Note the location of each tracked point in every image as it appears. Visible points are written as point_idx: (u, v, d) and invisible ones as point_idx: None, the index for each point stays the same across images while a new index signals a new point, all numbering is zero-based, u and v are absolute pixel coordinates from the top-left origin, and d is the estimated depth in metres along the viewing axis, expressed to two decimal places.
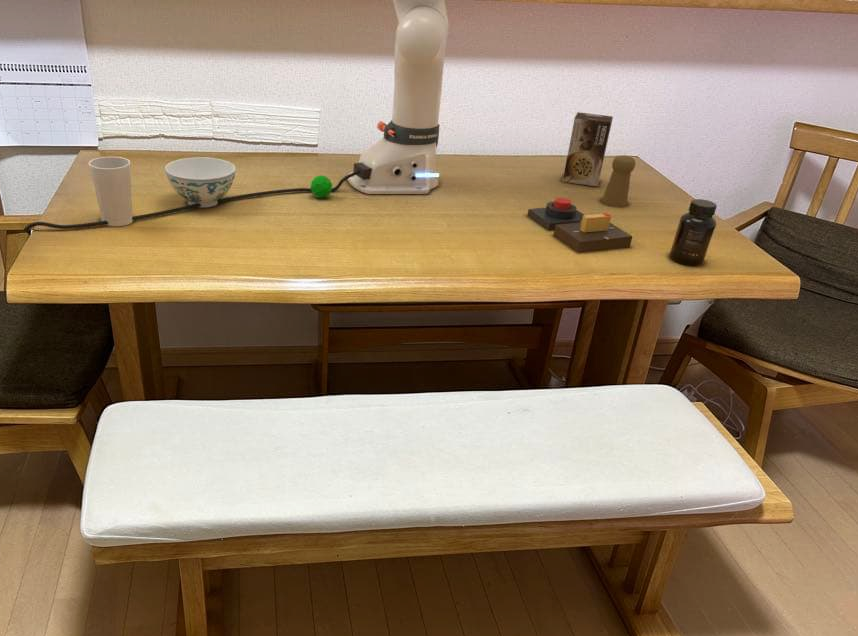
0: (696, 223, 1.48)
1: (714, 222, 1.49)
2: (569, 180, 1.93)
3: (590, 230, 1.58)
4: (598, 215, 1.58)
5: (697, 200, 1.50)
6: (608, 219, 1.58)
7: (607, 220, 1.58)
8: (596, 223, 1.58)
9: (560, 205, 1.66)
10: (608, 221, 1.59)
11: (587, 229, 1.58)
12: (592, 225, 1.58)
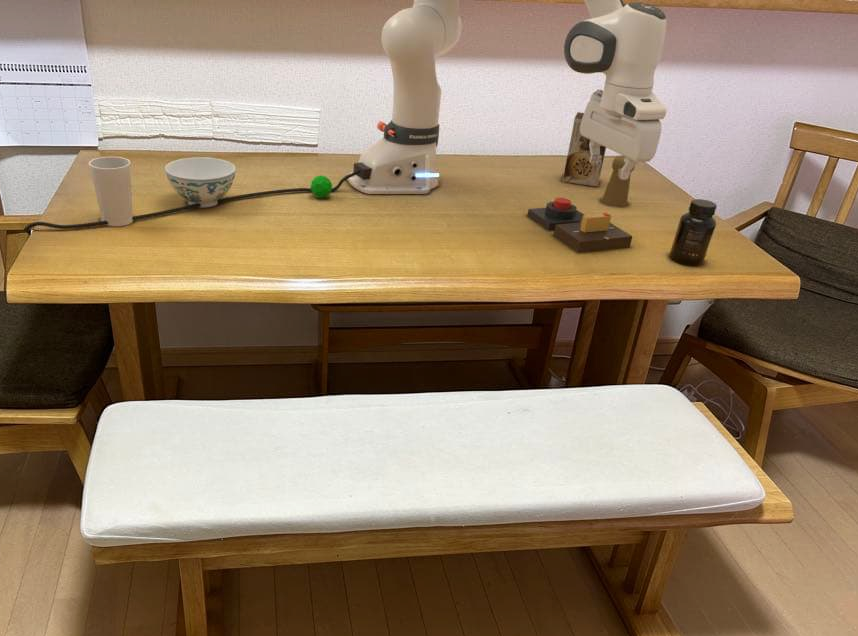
0: (696, 223, 1.48)
1: (714, 222, 1.49)
2: (569, 180, 1.93)
3: (590, 230, 1.58)
4: (598, 215, 1.58)
5: (697, 200, 1.50)
6: (608, 219, 1.58)
7: (607, 220, 1.58)
8: (596, 223, 1.58)
9: (560, 205, 1.66)
10: (608, 221, 1.59)
11: (587, 229, 1.58)
12: (592, 225, 1.58)
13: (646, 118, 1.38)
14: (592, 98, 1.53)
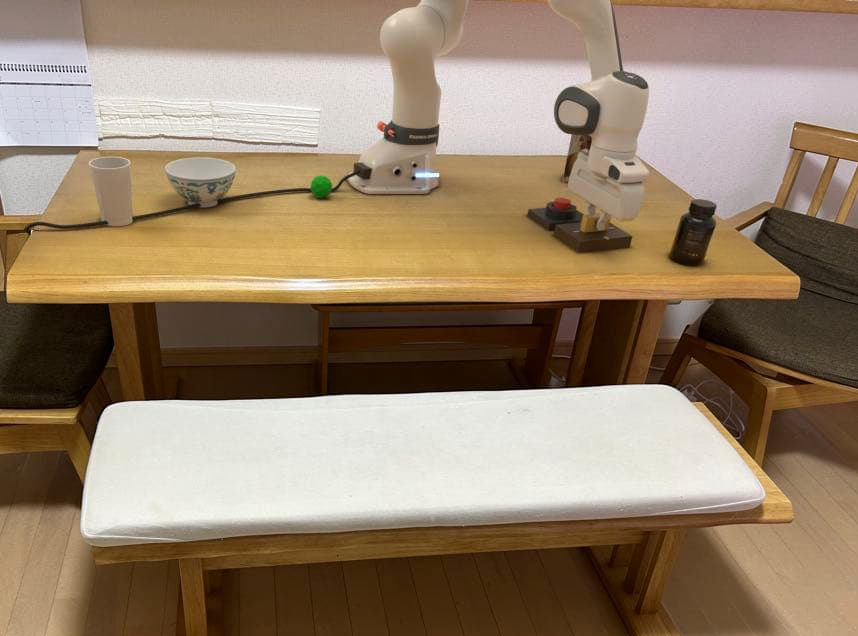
0: (696, 223, 1.48)
1: (714, 222, 1.49)
2: None
3: (590, 230, 1.58)
4: (598, 215, 1.58)
5: (697, 200, 1.50)
6: None
7: None
8: None
9: (560, 205, 1.66)
10: (608, 221, 1.59)
11: (587, 229, 1.58)
12: (592, 225, 1.58)
13: (629, 181, 1.45)
14: (579, 156, 1.59)
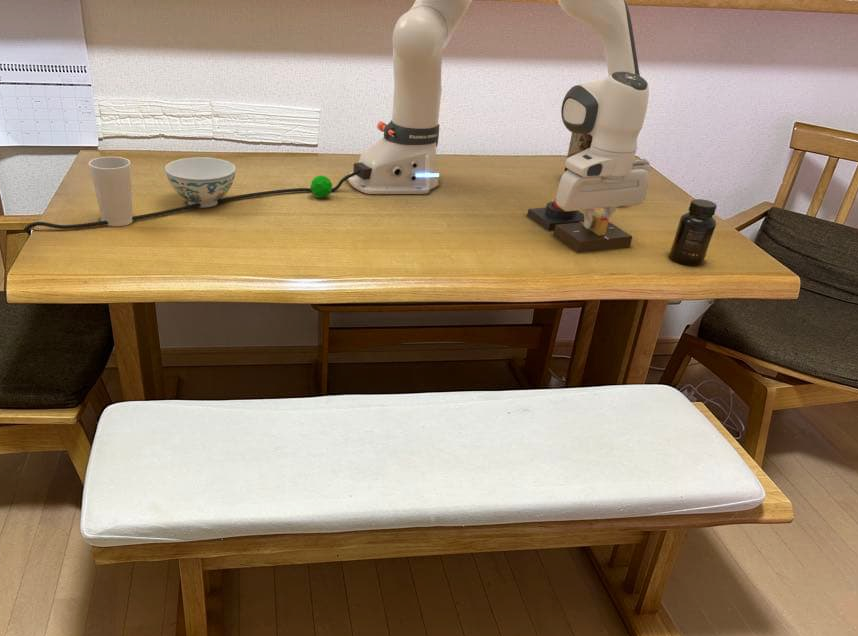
0: (696, 223, 1.48)
1: (714, 222, 1.49)
2: None
3: None
4: (598, 216, 1.57)
5: (697, 200, 1.50)
6: (600, 223, 1.56)
7: (599, 224, 1.56)
8: None
9: None
10: (600, 226, 1.56)
11: None
12: None
13: (569, 168, 1.50)
14: None
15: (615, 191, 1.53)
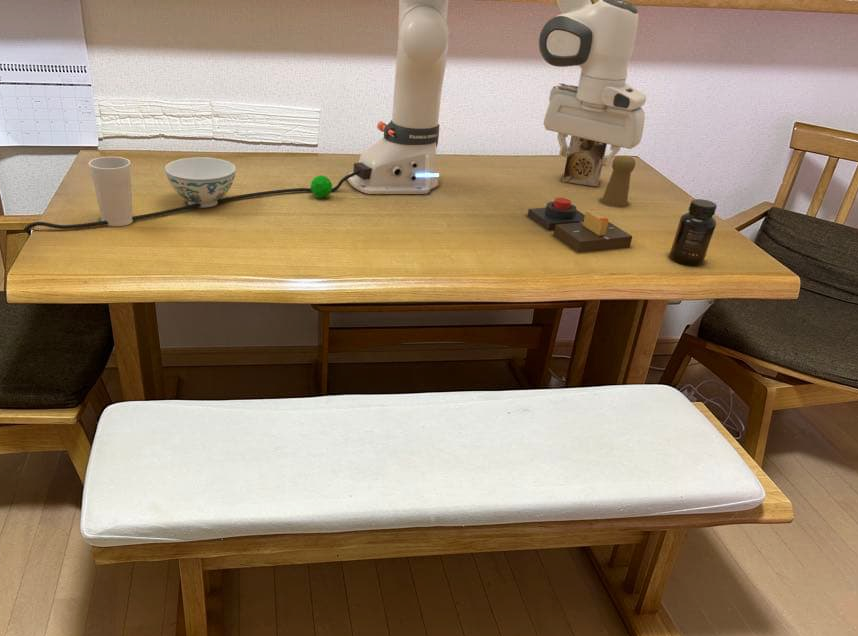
0: (696, 223, 1.48)
1: (714, 222, 1.49)
2: (569, 180, 1.93)
3: (586, 226, 1.60)
4: (598, 216, 1.57)
5: (697, 200, 1.50)
6: (600, 223, 1.56)
7: (599, 224, 1.56)
8: (591, 221, 1.58)
9: (560, 205, 1.66)
10: (600, 226, 1.56)
11: (585, 223, 1.61)
12: (588, 221, 1.59)
13: (637, 107, 1.46)
14: (553, 92, 1.55)
15: None
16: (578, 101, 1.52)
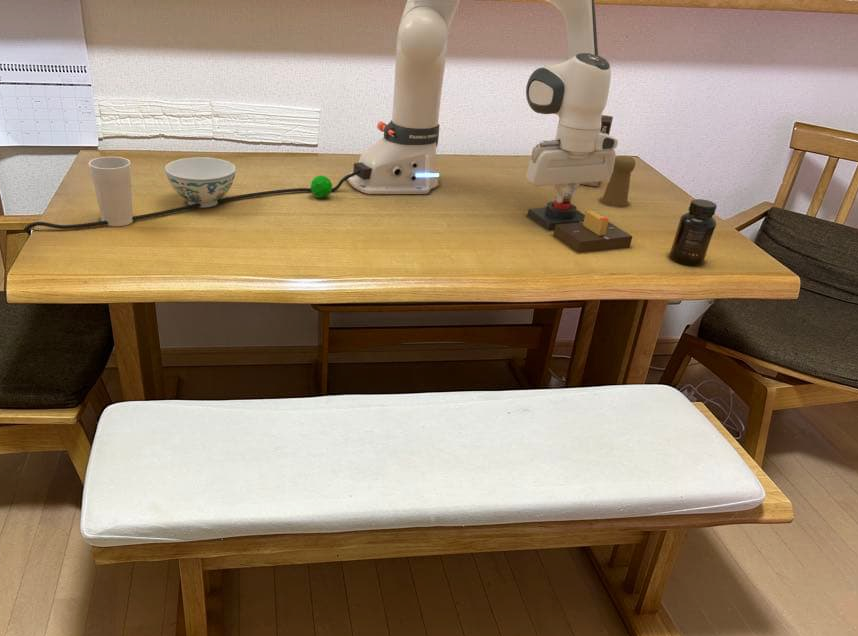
0: (696, 223, 1.48)
1: (714, 222, 1.49)
2: None
3: (586, 226, 1.60)
4: (598, 216, 1.57)
5: (697, 200, 1.50)
6: (600, 223, 1.56)
7: (599, 224, 1.56)
8: (591, 221, 1.58)
9: (559, 207, 1.66)
10: (600, 226, 1.56)
11: (585, 223, 1.61)
12: (588, 221, 1.59)
13: None
14: (537, 151, 1.57)
15: None
16: (566, 153, 1.59)
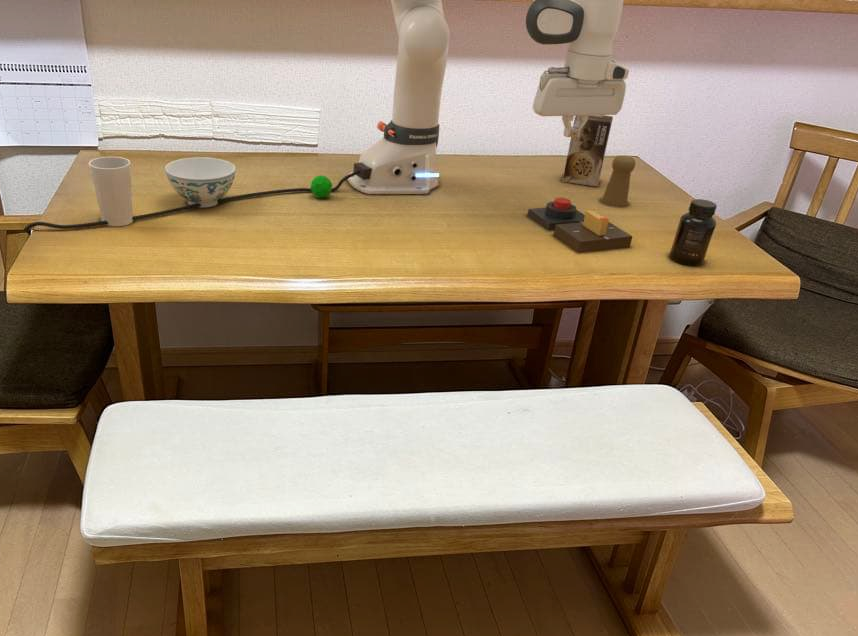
0: (696, 223, 1.48)
1: (714, 222, 1.49)
2: (569, 180, 1.93)
3: (586, 226, 1.60)
4: (598, 216, 1.57)
5: (697, 200, 1.50)
6: (600, 223, 1.56)
7: (599, 224, 1.56)
8: (591, 221, 1.58)
9: (560, 205, 1.66)
10: (600, 226, 1.56)
11: (585, 223, 1.61)
12: (588, 221, 1.59)
13: None
14: (545, 78, 1.52)
15: None
16: (574, 81, 1.53)
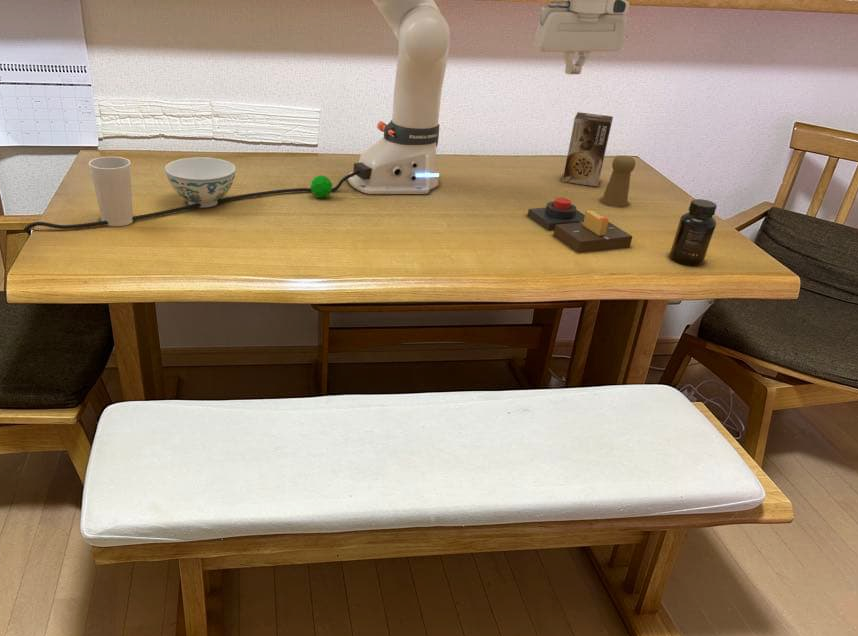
0: (696, 223, 1.48)
1: (714, 222, 1.49)
2: (569, 180, 1.93)
3: (586, 226, 1.60)
4: (598, 216, 1.57)
5: (697, 200, 1.50)
6: (600, 223, 1.56)
7: (599, 224, 1.56)
8: (591, 221, 1.58)
9: (560, 205, 1.66)
10: (600, 226, 1.56)
11: (585, 223, 1.61)
12: (588, 221, 1.59)
13: None
14: (546, 12, 1.52)
15: None
16: (575, 15, 1.53)
